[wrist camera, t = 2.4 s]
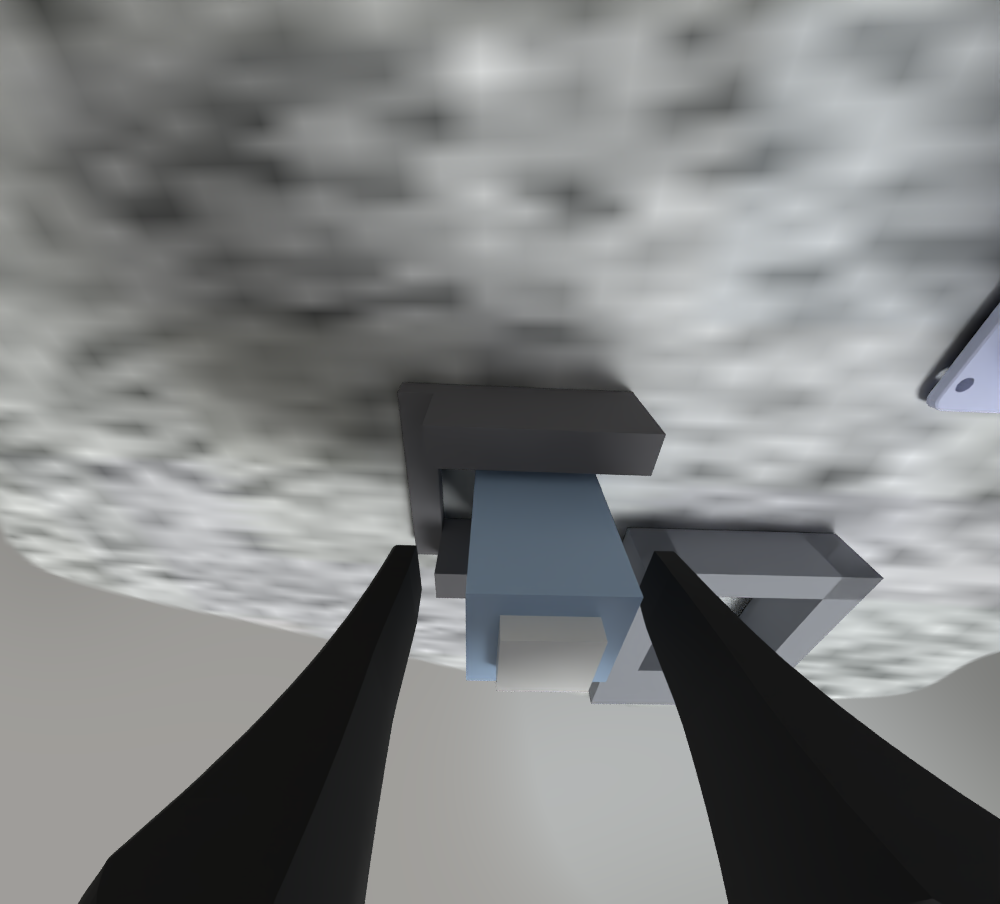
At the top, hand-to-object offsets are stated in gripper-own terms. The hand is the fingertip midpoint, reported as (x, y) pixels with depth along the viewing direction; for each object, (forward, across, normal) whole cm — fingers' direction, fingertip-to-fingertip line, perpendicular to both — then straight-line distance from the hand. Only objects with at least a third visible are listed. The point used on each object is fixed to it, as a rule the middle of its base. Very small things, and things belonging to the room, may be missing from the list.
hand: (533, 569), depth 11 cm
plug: (+5, 0, 0) cm, 5 cm away
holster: (+5, 0, 0) cm, 5 cm away
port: (+5, -10, +9) cm, 14 cm away
